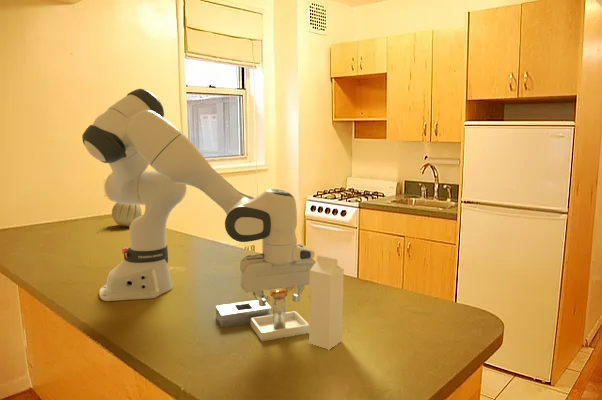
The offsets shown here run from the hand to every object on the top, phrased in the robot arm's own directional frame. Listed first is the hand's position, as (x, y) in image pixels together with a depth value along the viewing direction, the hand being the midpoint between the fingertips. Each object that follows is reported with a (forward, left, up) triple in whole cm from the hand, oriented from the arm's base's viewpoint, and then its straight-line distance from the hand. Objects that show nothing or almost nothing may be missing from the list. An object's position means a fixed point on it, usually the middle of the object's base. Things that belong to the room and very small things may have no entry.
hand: (279, 303), depth 121 cm
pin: (0, 0, -7) cm, 7 cm away
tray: (0, 0, -7) cm, 7 cm away
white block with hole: (-7, +10, -7) cm, 14 cm away
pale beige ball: (-32, +149, -7) cm, 153 cm away
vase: (+1, +22, -8) cm, 23 cm away
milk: (+8, -12, -7) cm, 16 cm away
